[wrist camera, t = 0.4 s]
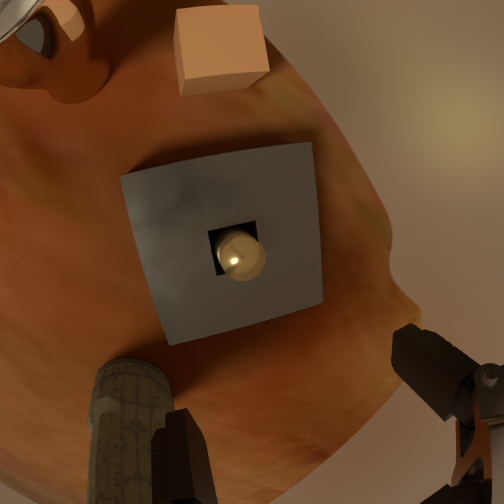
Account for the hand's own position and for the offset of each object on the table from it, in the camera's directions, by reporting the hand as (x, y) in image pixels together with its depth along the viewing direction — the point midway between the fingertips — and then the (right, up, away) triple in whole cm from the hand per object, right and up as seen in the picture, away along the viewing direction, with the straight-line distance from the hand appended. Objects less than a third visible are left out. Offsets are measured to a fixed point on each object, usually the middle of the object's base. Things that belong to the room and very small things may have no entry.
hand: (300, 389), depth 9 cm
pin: (-3, +5, +13) cm, 15 cm away
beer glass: (-16, +20, +8) cm, 27 cm away
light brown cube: (-5, +20, +11) cm, 24 cm away
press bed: (-4, +6, +16) cm, 18 cm away
